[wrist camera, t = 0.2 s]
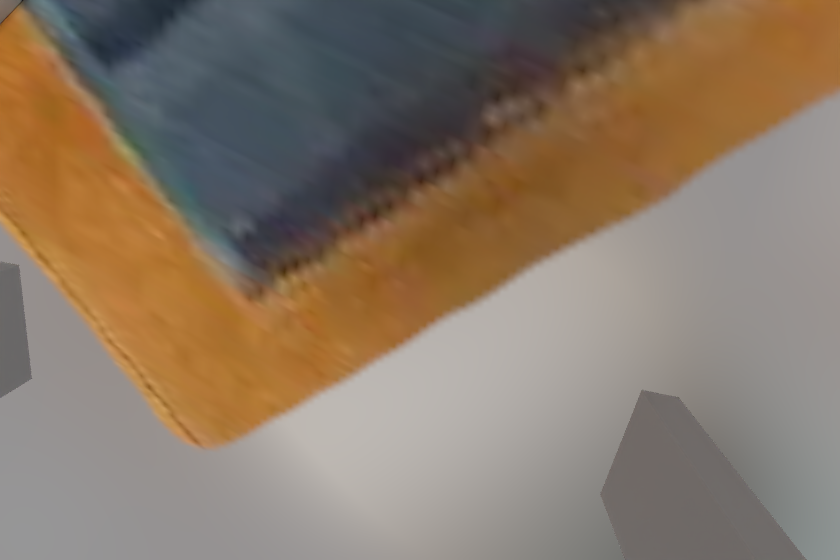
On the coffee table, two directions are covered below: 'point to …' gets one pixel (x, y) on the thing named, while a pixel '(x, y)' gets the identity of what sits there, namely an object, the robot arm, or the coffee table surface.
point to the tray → (7, 7)
